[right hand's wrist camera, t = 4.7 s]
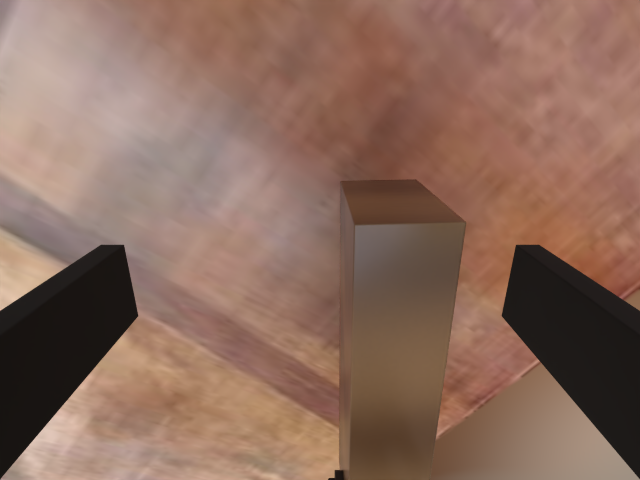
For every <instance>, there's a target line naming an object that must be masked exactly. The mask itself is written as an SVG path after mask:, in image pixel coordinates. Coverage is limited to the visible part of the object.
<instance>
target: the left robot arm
mask: <svg viewBox="0 0 640 480" xmlns="http://www.w3.org/2000/svg"><path fill="white" fill-rule="evenodd" d="M328 480H344V477H343V470H335V478H329V479H328Z"/></svg>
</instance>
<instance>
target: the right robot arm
mask: <svg viewBox="0 0 640 480" xmlns="http://www.w3.org/2000/svg"><path fill="white" fill-rule="evenodd" d="M137 317H138V312H137V307H136V302H135V297H134V292H133V287H132V282H131V278H130V273H129V268H128V263H127V258H126V253H125V248H124V245H100V246H99V247H97V248H96V249H94V250H92V251H91V252H89V253H88V254H86V255H85V256H83V257H82V258H80V259H79V260H77V261H76V262H74V263H73V264H71V265H70V266H68V267H67V268H65V269H63V270H62V271H60V272H59V273H57V274H56V275H54V276H53V277H51V278H50V279H48V280H47V281H45V282H44V283H42V284H41V285H39V286H38V287H36V288H34V289H33V290H31V291H30V292H28V293H27V294H25V295H24V296H22V297H21V298H19V299H18V300H16V301H15V302H13V303H12V304H10V305H9V306H7V307H5V308H4V309H2V310H1V311H0V479H1V477H2V476H3V475H4V474H5V473H6V472H7V470H8V469H9V468H10V467H11V466H12V464H13V463H14V462H15V461H16V460H17V459H18V457H19V456H20V455H21V454H22V453H23V452H24V450H25V449H26V448H27V447H28V446H29V444H30V443H31V442H32V441H33V440H34V439H35V437H36V436H37V435H38V434H39V433H40V431H41V430H42V429H43V428H44V427H45V426H46V424H47V423H48V422H49V421H50V420H51V418H52V417H53V416H54V415H55V414H56V413H57V411H58V410H59V409H60V408H61V407H62V405H63V404H64V403H65V402H66V401H67V400H68V398H69V397H70V396H71V395H72V394H73V392H74V391H75V390H76V389H77V388H78V387H79V385H80V384H81V383H82V382H83V381H84V379H85V378H86V377H87V376H88V375H89V374H90V372H91V371H92V370H93V369H94V368H95V366H96V365H97V364H98V363H99V362H100V361H101V359H102V358H103V357H104V356H105V355H106V354H107V352H108V351H109V350H110V349H111V348H112V346H113V345H114V344H115V343H116V342H117V341H118V339H119V338H120V337H121V336H122V335H123V333H124V332H125V331H126V330H127V329H128V328H129V326H130V325H131V324H132V323H133V322H134V320H135V319H136V318H137ZM502 317H503V318H504V319H505V320H506V322H507V323H508V324H509V325H510V326H511V328H512V329H513V330H514V331H515V332H516V333H517V335H518V336H519V337H520V338H521V339H522V341H523V342H524V343H525V344H526V345H527V346H528V348H529V349H530V350H531V351H532V352H533V354H534V355H535V356H536V357H537V358H538V359H539V361H540V362H541V363H542V364H543V365H544V366H545V368H546V369H547V370H548V371H549V372H550V374H551V375H552V376H553V377H554V378H555V379H556V381H557V382H558V383H559V384H560V385H561V387H562V388H563V389H564V390H565V391H566V392H567V394H568V395H569V396H570V397H571V398H572V400H573V401H574V402H575V403H576V404H577V405H578V407H579V408H580V409H581V410H582V411H583V412H584V414H585V415H586V416H587V417H588V418H589V420H590V421H591V422H592V423H593V424H594V425H595V427H596V428H597V429H598V430H599V431H600V433H601V434H602V435H603V436H604V437H605V438H606V440H607V441H608V442H609V443H610V444H611V446H612V447H613V448H614V449H615V450H616V452H617V453H618V454H619V455H620V456H621V457H622V459H623V460H624V461H625V462H626V463H627V464H628V466H629V467H630V468H631V469H632V470H633V472H634V473H635V474H636V475H637V476H638V477H639V479H640V311H639V310H638V309H636V308H634V307H633V306H631V305H630V304H628V303H627V302H625V301H624V300H622V299H621V298H619V297H618V296H616V295H615V294H613V293H612V292H610V291H609V290H607V289H606V288H604V287H602V286H601V285H599V284H598V283H596V282H595V281H593V280H592V279H590V278H589V277H587V276H586V275H584V274H583V273H581V272H580V271H578V270H577V269H575V268H573V267H572V266H570V265H569V264H567V263H566V262H564V261H563V260H561V259H560V258H558V257H557V256H555V255H554V254H552V253H551V252H549V251H548V250H546V249H544V248H543V247H541V246H540V245H516V248H515V253H514V258H513V263H512V268H511V273H510V278H509V282H508V287H507V292H506V297H505V302H504V307H503V312H502Z"/></svg>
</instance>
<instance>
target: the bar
mask: <svg viewBox="0 0 640 480" xmlns="http://www.w3.org/2000/svg"><path fill="white" fill-rule="evenodd" d="M465 227H466V222H465V221H464V220H463V219H462V218H461V217H459V216H458V215H457V214H456V213H455V212H454V211H452V210H451V209H450V208H449V207H448V206H447V205H445V204H444V203H443V202H442V201H441V200H440V199H438V198H437V197H436V196H435V195H434V194H432V193H431V192H430V191H429V190H428V189H427V188H425V187H424V186H423V185H422V184H421V183H420V182H418V181H417V180H369V181H341V182H340V375H339V465H340V470H343V477H344V480H430V475H431V468H432V461H433V454H434V446H435V440H436V432H437V425H438V418H439V411H440V404H441V397H442V390H443V383H444V376H445V369H446V362H447V355H448V348H449V341H450V333H451V326H452V319H453V312H454V305H455V298H456V291H457V284H458V277H459V270H460V263H461V256H462V249H463V242H464V234H465Z"/></svg>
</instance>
